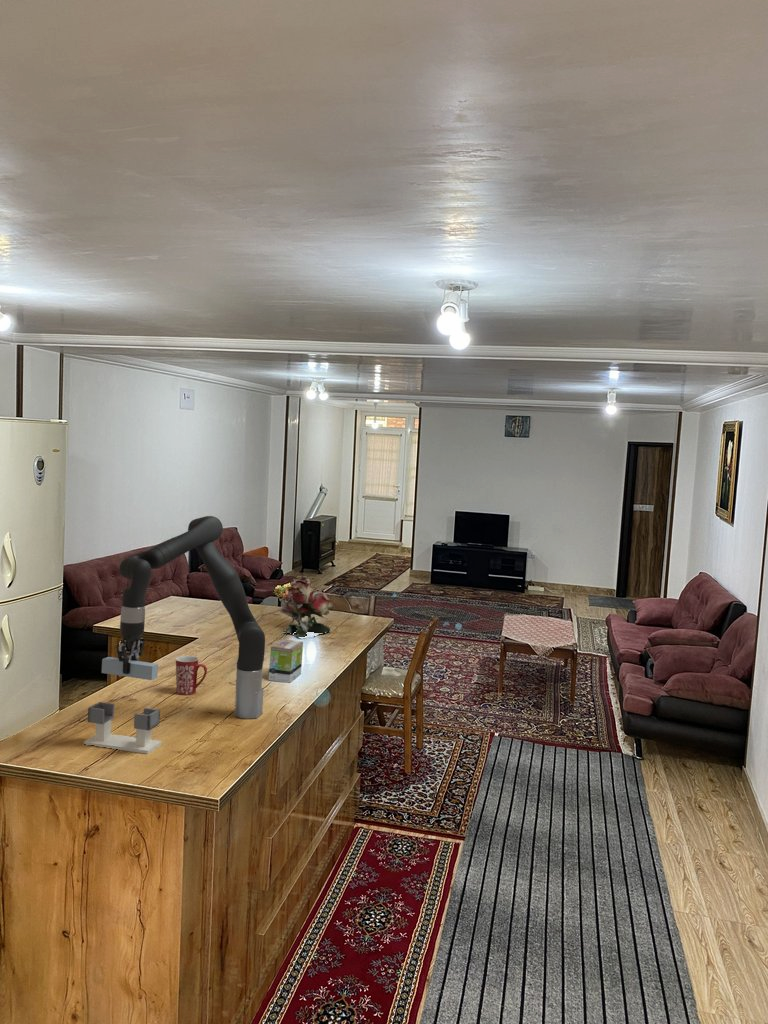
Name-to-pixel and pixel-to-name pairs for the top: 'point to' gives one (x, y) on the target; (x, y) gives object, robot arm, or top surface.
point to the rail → (136, 668)
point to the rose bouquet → (305, 607)
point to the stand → (104, 738)
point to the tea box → (285, 660)
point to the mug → (188, 674)
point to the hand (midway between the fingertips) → (129, 671)
